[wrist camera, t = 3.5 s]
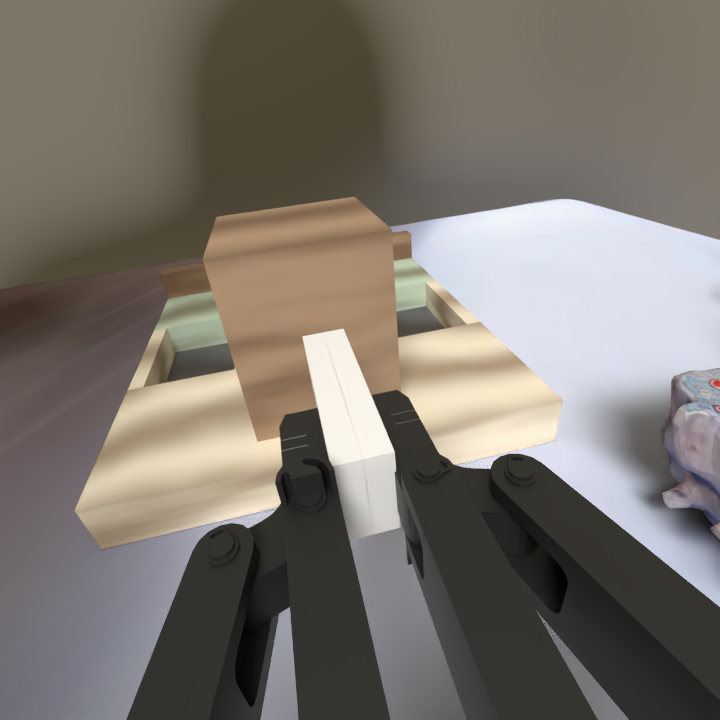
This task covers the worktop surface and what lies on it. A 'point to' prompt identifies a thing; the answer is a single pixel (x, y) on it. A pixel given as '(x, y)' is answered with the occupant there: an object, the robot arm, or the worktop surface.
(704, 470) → the cell model
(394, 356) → the walnut block
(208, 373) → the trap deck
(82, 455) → the worktop surface
